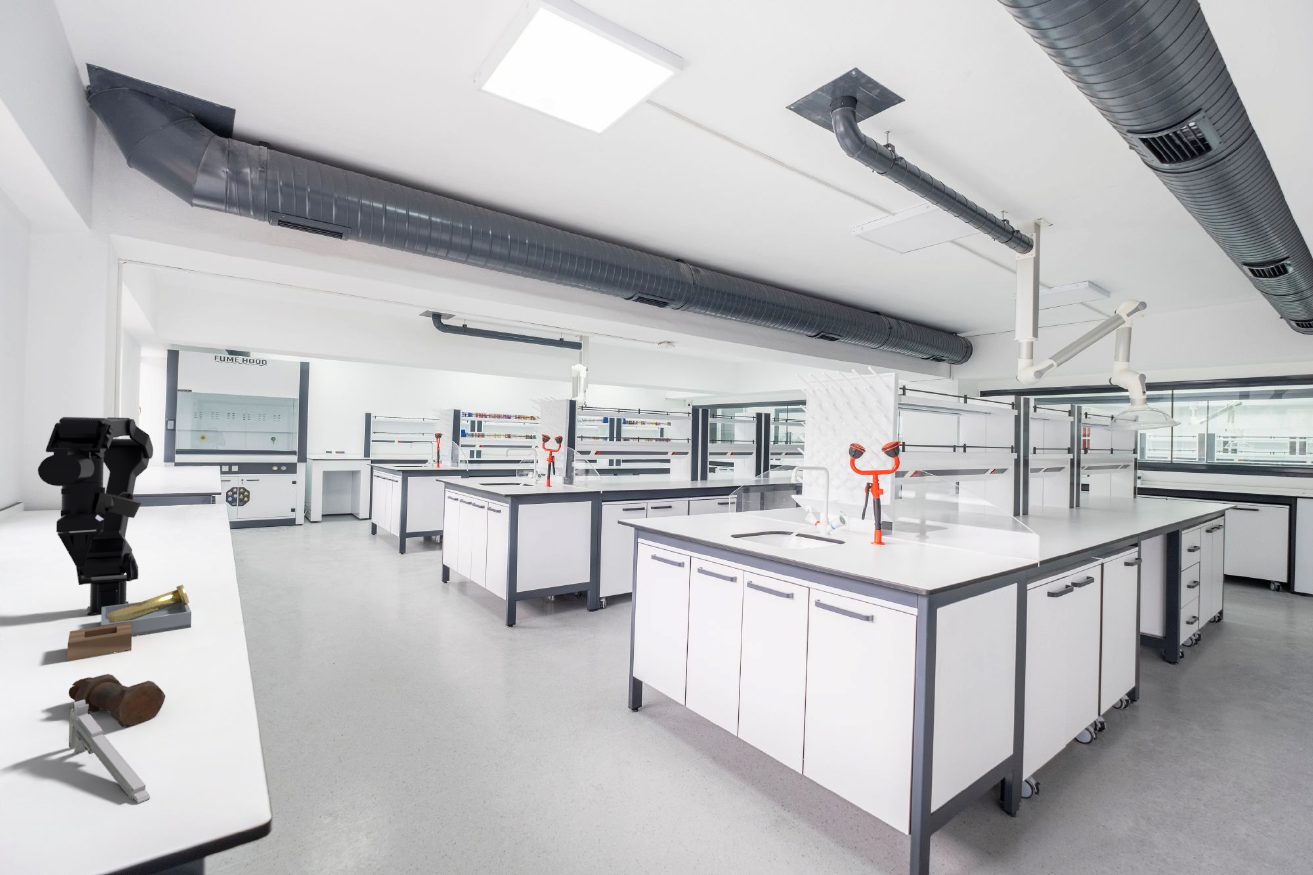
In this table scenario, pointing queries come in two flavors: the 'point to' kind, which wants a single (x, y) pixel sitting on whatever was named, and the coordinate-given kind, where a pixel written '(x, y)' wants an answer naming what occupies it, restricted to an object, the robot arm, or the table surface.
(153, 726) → the table surface
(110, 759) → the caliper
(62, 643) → the table surface
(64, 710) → the table surface
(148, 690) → the bolt
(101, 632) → the block
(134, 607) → the pin
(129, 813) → the table surface
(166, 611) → the tray
